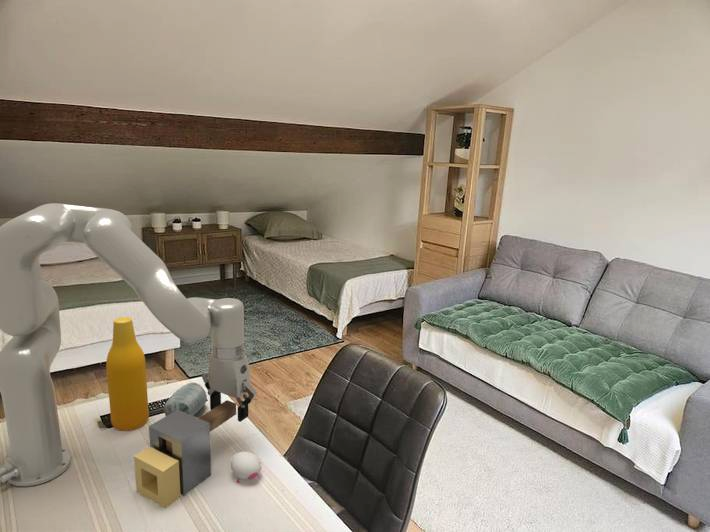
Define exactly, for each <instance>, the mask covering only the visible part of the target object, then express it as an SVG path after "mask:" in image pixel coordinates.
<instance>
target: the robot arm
mask: <svg viewBox="0 0 710 532" xmlns="http://www.w3.org/2000/svg"><path fill="white" fill-rule="evenodd" d="M65 242H66V243H76V244H77V243H78V244H85V246H87V248H88V249H89V250H90V251H91V252H92V253H93V254H94V255H96V256H97V258H98V259H100V260H101V261H102V262H104V264H106V265H107V266H108V267H109V268H110V269H111V270H112V271H113V272H114V273H116V274H117V275H118V276H119V277H120V278H121V279H122V280H123V281H124V282H125V283H127V285H129V286H130V287H131V288H132V289H133V291H134V292H135V294H136V296H137V297H138V298H139V299H140V301H142V302H143V305H145V306H146V309H148V310H149V311H150V313H151V314H152V315H153V316H154V318H156V320H157V321H158V322H159V323H160V324H162V325H163V326H164V328H166V329H167V330H168V331H169V332H171V334H172V335H174V336H175V337H176V338H177V339H179V340H181V341H183V342H184V343H188V344H197V343H200V342H203V341H204V340H206V338H207V337H208V336H209V335H210V334H211V353H210V356H209V362H208V363H209V364H208V372H206V373H204V374H202V375H201V379H202V380H203V383H204V386H205V388H206V390H207V394H208V396H209V408H210V410H212V409H214V408H215V407H217V406H218V405H220V404H222V394H224V395H226V396H229V397H232V398H235V400H236V402H237V404H238V407H237V422H240V423H241V422H242V421H244V420H245V419H247V418H248V417H249V404H251V403H252V402H253V401H254V400H255V399H256V397H257V395H258V392H257V391H256V390H255V389H254V388H253V387H252V385H251V382H252V381H251V371H250V364H249V360H248V359H249V358H248V356H247V353H248V352H247V350H246V349H245V314H244V313H245V306H244V303H243V302H242V301H241V300H240V299H237V298H232V297H226V298H225V297H224V298H219V299H215V298H214V299H213V298H206V297H186V296H185V295H184V294H183V293H182V291H181V290H180V289H179V288H178V286H177V285H176V283H175V282H174V280H173V278H172V276H171V273H170V271H169V269H168V268H167V266H166V264H165V262H164V261H163V260H162V259H161V258H160V257H159V256H158V255H157V254H156V253H155V252H154V251H153V250H152V249H151V248H150V247H149V246H148V245H146V243H145V242H143V241H142V239H140V238H139V236H138V235H137V234H135V233H134V232H133V231H132V223H131V221H130V219H129V218H128V217H127V216H126V215H125V214H124V213H122V212H121V211H119V210H115V209H111V208H106V207H105V208H104V207H95V206H83V205H76V204H66V203H57V202H54V203H53V202H52V203H46V204H42V205H39V206H37V207H35V208H33V209H31V210H29V211H27V212H25V213H23V214H19V216H15V217H14V218H12V219H10V220H9V221H7V222H5V223H3V224H2V225H1V226H0V331H2V332H3V333H4V334H6V335H8V336H10V337H11V336H12V338H11V339H10V340H9V341H8V342H7V343H6V344H5V345H4V346H3V348H2V349H0V395H1V400H2V405H3V412H4V416H5V417H4V418H5V423H6V428H7V429H6V430H7V436H8V442H9V443H8V444H9V449H10V450H9V451H10V456H8V457H6V463H5V464H3V465H2V467H0V482H2V484H3V483H5V482H7V483H8V484H10V485H13V486H15V487H30V486H31V487H32V486H37V485H41V484H44V483H46V482H49V481H51V480H53V479H55V478H57V477H59V476H60V475H61V474H62V473H64V472H65V471H66V470H67V469H68V468H69V466H70V465H71V463H72V455H71V453H70V451H69V450H68V449H67V448H64V447H63V446H62V437H61V428H60V420H59V414H58V413H59V411H58V404H57V403H58V401H57V395H56V389H55V385H54V381H53V379H52V375H51V365H52V364H53V362H54V360H55V358H56V357H57V354H58V353H59V350H60V348H61V345H62V344H61V343H62V331H61V329H62V328H61V318H60V317H61V316H60V305H59V297H58V294H57V292H56V290H55V289H54V287H53V286H52V285H51V284H49V283H48V282H47V281H45V280H42V279H43V278H42V277H43V273H42V266H41V263H40V257H41V256H42V255H43V254H44V253H46V252H49V251H52V250H54V249H56V248H57V247H59V246H61V244H63V243H65ZM242 397H243V398H242ZM243 399H244V400H243ZM210 410H209V411H210Z"/></svg>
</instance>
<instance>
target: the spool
mask: <svg viewBox="0 0 710 532" xmlns="http://www.w3.org/2000/svg"><path fill="white" fill-rule="evenodd" d="M207 400H208V396H207V393H206V391H205V389H204V387H203V386H202V385H201V384H199V383H198V382H189V383H186V384H184V385H182V386H181V387H180V388H178V389H177V390H176V391H175V392H173V394H171V396H170V397H169V398H168V400H167V401H166V402H165V404H164V405H163V413H164V417H166V416H167V415H169V414H171V413H173V412H174V411H176V410H180V411H182V412H185V413H187V414H189V415H192V416H194V417H195V415H196V414H197V413H198V412H199V411H200V410H201V409H202V408H203V407H204V406H205V404H206V403H207Z"/></svg>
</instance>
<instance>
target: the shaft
mask: <svg viewBox="0 0 710 532" xmlns="http://www.w3.org/2000/svg"><path fill="white" fill-rule="evenodd" d="M236 415H237V403H236V402H233V401H230V400H229V399H227V400H225V401H223V402H221V404H220V405H218V406H217V407H215V408H214V409H212V410H209V411H207V412H206V413H204V414H203V415H201V416H200V417H198V418H199V419H201V420H204V421H206V422H208V423H210V433H211V432H212V431H214V430H215V429H217V428H218V427H220V426H221V425H223V424H224V423H226V422H227V421H229V420H230V419H231V418H233V417H235V416H236ZM166 450H167V451H169V452H171V453H173V452H172V442H169V441H167V440H166Z"/></svg>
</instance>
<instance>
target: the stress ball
mask: <svg viewBox="0 0 710 532" xmlns="http://www.w3.org/2000/svg"><path fill="white" fill-rule="evenodd" d="M230 469H231V471H232V473H233V474H234V475H235V476H236V477H238V479H237V480H236V481H235V483H237V484H240V479H242V480H252V479H253V480H254V479H255V478H257V477H258V476H259V475H260V474H261V471H262V462H261V461H260V459H259V458H258V456H256V455H255V454H254V453H252V452H249V451H239V452H237V453H235V454H234V455H233V456H232V457H231V460H230Z"/></svg>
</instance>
